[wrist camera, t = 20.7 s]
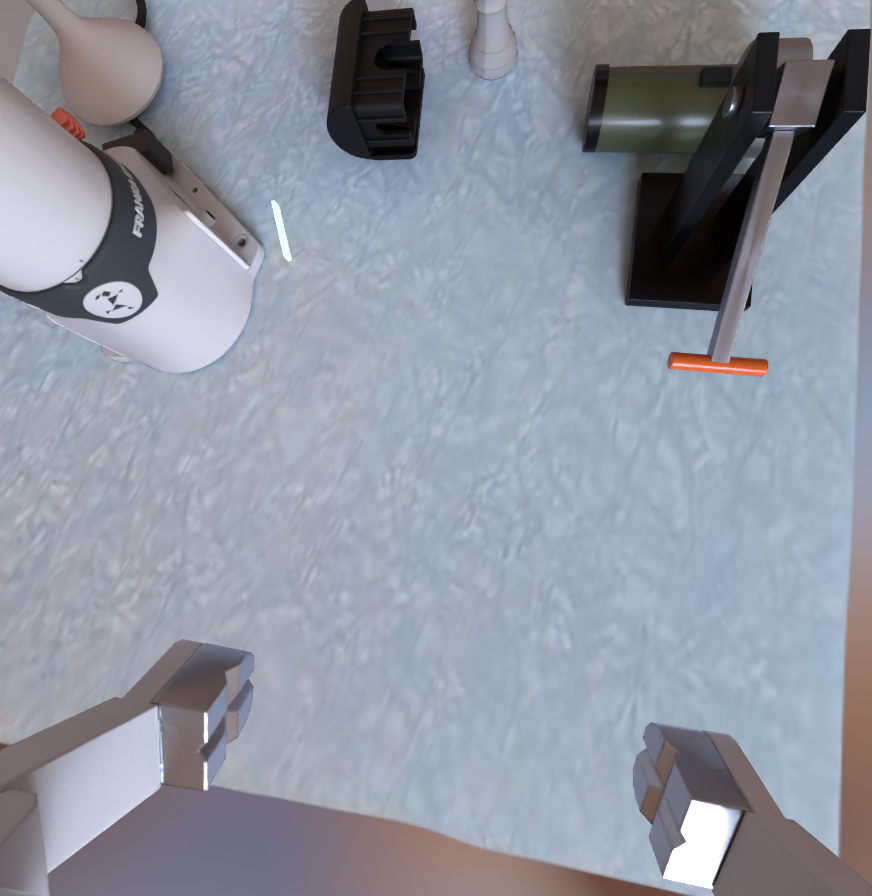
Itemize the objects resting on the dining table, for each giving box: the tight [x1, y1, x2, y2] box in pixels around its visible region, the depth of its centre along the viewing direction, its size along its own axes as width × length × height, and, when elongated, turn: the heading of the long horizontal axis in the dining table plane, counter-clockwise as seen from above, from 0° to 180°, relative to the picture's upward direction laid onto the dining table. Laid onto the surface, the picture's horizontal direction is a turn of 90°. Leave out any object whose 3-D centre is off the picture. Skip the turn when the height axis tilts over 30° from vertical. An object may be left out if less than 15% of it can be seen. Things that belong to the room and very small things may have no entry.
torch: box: [582, 38, 813, 158], centre depth 36 cm, size 14×7×7 cm, turn 82°
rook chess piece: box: [469, 0, 518, 80], centre depth 39 cm, size 4×4×8 cm
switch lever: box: [667, 60, 835, 377], centre depth 27 cm, size 16×6×2 cm
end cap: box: [327, 0, 425, 160], centre depth 41 cm, size 10×7×7 cm
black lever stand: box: [626, 29, 871, 311], centre depth 30 cm, size 11×9×16 cm
